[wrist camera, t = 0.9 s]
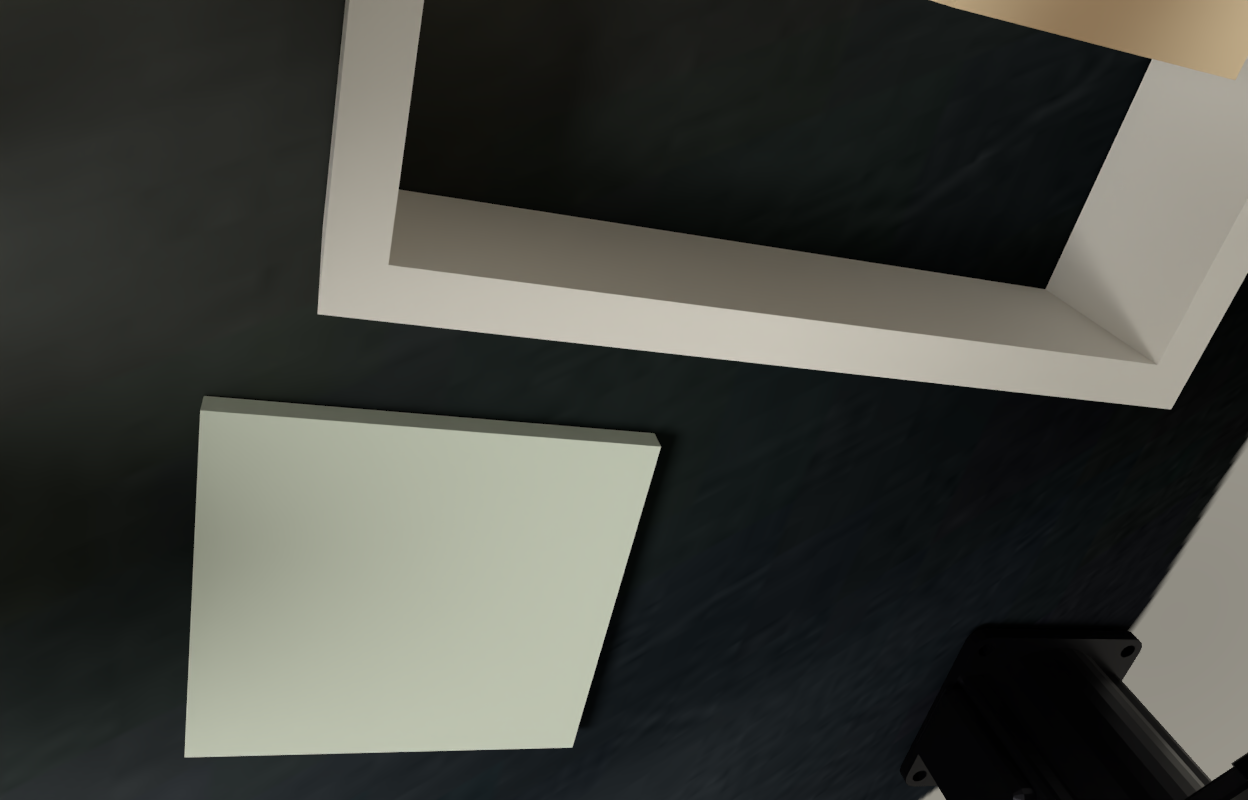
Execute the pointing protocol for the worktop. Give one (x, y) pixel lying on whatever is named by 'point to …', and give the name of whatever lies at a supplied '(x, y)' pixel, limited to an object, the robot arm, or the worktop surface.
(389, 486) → the sage mat
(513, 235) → the white square frame
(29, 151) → the worktop surface
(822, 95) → the worktop surface
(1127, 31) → the maple block
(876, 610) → the worktop surface
